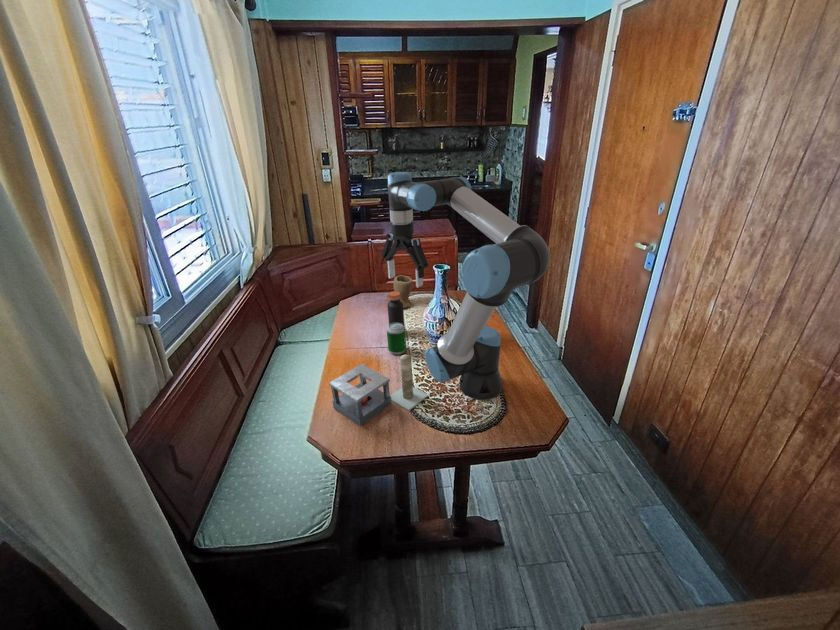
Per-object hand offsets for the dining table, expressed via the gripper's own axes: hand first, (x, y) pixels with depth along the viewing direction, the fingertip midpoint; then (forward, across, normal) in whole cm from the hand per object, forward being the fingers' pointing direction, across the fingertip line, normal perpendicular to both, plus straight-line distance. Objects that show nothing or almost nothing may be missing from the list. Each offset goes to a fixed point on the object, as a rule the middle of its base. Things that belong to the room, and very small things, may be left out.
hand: (405, 281), depth 137 cm
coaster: (+35, -14, +16) cm, 41 cm away
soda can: (+35, +10, -3) cm, 36 cm away
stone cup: (+35, +41, -37) cm, 65 cm away
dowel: (+34, -14, +16) cm, 40 cm away
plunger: (+34, -5, +29) cm, 45 cm away
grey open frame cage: (+35, -5, +29) cm, 45 cm away
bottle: (+35, +20, -13) cm, 42 cm away
